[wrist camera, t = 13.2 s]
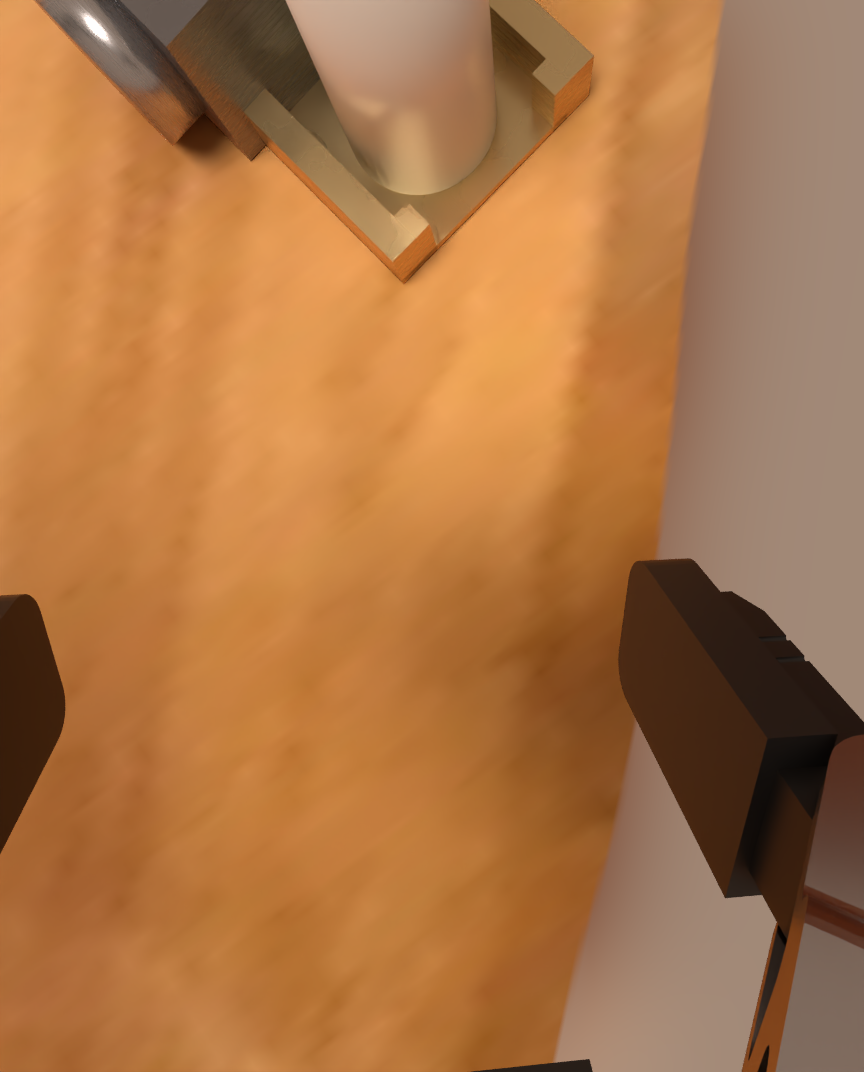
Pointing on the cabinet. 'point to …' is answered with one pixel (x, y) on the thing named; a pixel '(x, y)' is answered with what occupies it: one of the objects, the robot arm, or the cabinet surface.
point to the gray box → (320, 101)
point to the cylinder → (407, 84)
